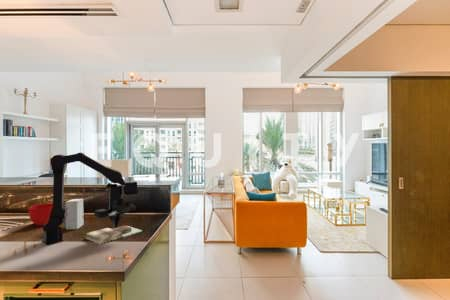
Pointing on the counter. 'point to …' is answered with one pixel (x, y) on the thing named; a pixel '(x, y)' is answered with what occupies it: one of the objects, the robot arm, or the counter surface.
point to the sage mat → (133, 231)
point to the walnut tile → (123, 229)
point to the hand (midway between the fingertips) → (115, 227)
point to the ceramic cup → (40, 213)
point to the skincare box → (74, 214)
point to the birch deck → (103, 235)
